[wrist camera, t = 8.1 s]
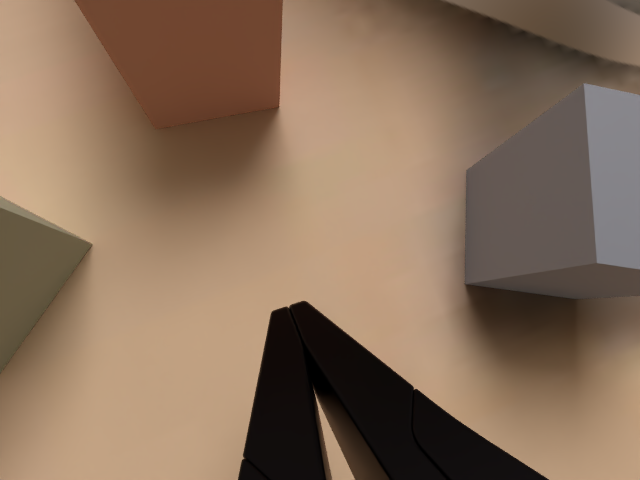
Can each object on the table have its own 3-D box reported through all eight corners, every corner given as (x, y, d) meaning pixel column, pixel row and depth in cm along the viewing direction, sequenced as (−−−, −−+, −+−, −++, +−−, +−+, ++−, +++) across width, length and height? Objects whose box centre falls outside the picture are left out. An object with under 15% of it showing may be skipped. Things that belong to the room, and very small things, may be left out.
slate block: (575, 299, 17) (772, 289, 10) (464, 284, 17) (597, 262, 10) (569, 188, 19) (739, 116, 12) (466, 170, 18) (583, 83, 11)
